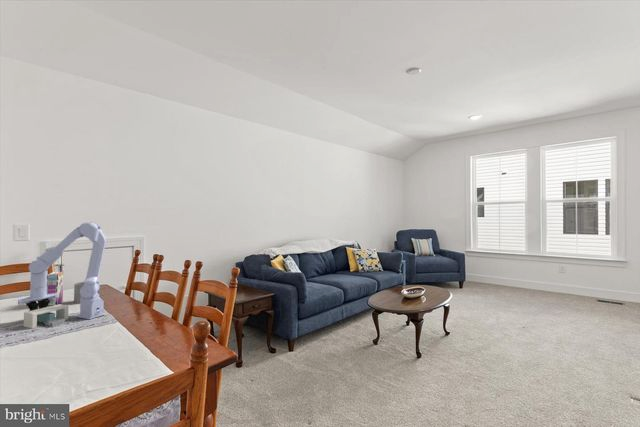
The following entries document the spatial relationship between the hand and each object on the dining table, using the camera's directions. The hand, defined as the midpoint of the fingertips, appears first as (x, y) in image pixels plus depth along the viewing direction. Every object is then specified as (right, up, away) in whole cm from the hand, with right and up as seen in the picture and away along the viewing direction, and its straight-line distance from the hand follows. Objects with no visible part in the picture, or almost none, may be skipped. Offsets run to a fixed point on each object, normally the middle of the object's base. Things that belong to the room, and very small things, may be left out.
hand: (37, 317), depth 150 cm
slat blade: (+2, -1, -1) cm, 3 cm away
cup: (-3, -2, +33) cm, 33 cm away
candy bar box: (-14, -2, +27) cm, 31 cm away
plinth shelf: (+6, -2, -3) cm, 7 cm away
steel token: (+12, -2, -5) cm, 13 cm away
